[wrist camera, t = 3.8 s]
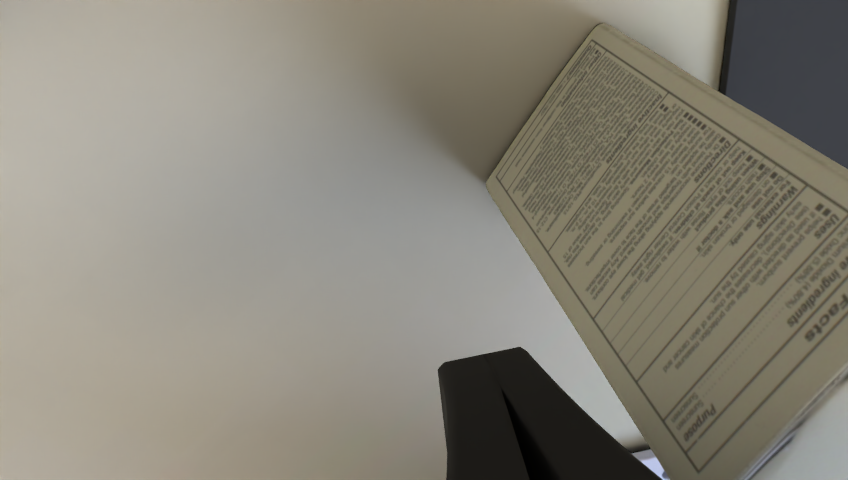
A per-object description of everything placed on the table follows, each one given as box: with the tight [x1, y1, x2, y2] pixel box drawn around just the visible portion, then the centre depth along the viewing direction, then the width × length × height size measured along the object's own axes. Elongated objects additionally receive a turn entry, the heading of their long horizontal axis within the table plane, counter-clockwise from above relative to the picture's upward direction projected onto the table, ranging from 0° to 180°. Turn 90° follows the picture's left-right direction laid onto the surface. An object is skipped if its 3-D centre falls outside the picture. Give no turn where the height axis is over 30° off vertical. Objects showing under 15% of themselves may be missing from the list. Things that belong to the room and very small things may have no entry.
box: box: [486, 23, 848, 480], centre depth 15 cm, size 5×4×11 cm
